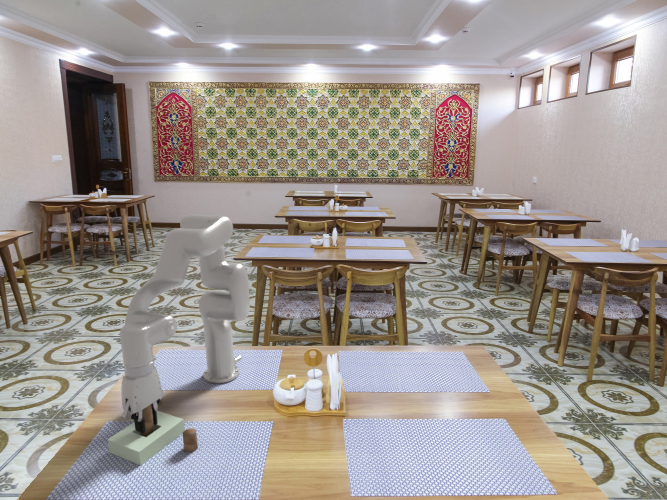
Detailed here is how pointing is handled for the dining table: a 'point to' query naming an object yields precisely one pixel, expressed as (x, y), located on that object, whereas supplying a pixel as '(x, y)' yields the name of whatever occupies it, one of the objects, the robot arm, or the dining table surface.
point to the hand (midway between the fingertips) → (146, 426)
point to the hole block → (146, 439)
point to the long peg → (148, 421)
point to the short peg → (190, 440)
